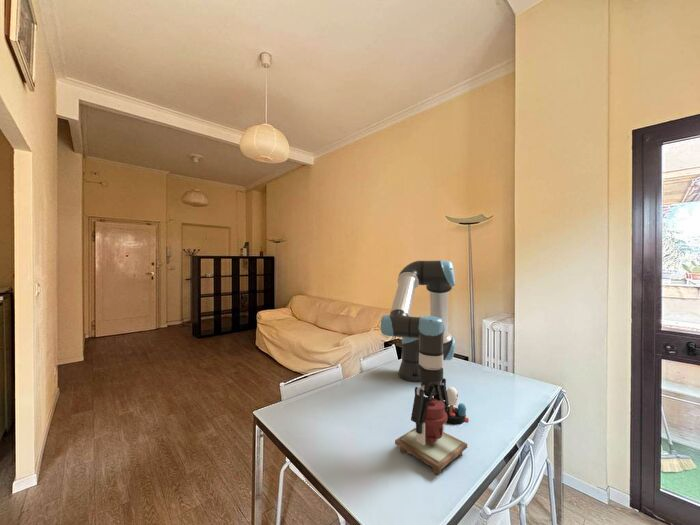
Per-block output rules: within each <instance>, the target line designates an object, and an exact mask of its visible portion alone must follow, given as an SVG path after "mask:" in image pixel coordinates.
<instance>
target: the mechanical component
mask: <svg viewBox="0 0 700 525" xmlns="http://www.w3.org/2000/svg"><path fill="white" fill-rule="evenodd" d="M420 419H421V418H420ZM424 422H425V438H426V439H427V440H428V442H429V443H430V444H434V441H435V440H437V439H440V438H441V437H442V425H443V424H444V425H445V424H447V423H446V422H447V413H446V412H445V405H444V403H443V402H442V401H441V400H438V399H436V398H434V396H433V397H432V399H431V401H429V404H428V408H427V411H426V415H425V418H424Z"/></svg>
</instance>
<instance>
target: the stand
mask: <svg viewBox="0 0 700 525" xmlns="http://www.w3.org/2000/svg"><path fill="white" fill-rule="evenodd" d="M394 444H395V446H398V447H399V451H400V452H401V453H403V454H407V453H409V454H411V455H413V456H414V457H416V458H417V459H418V460H420V461H422V462H424V463H425V464H427V465H428V466H430V467H431V468H432V472H433V474H435V475H440V474H441V473H442V469H444V468H445V467H446V466H447V465H449V464H450V463H451V462H452V461H453V460H454V459H456V458H457V457H462V456H463V452H464V451H465V450H466V449H467V448H468V443H467V442H465V441H463V440H460V439H459V438H457V437H455V436H453V435H450V434H449V433H447V432H445V431H444V432H443V431H442V437H441V438H440V439H437V440H435V441H434V444H430V443H429V442H428V440H427V439H426V438H425V445H423V444H421V443H419V442H417V441H416V427H414V428H413V429H411V430H410V431H408V432H406V433H405V434H403V435H401V436H399V437H398V438H397V439H394Z"/></svg>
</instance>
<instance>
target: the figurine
mask: <svg viewBox="0 0 700 525" xmlns="http://www.w3.org/2000/svg"><path fill="white" fill-rule="evenodd" d="M446 390H447V396H448V402H449V406H446V407H447V408H448V411H445V412H446V413H447V422H446V423H445V424H448V425H452V426H453V425H455V426H456V425H458V426H459V425H463V424H464V423H465V422H469V421H470V420H469V417H467V412H466V411H467V407H466V405H465V404H464V403H461V402H460V403H459V402H458V401H459V394H458V391H457V389H456V388H455V387H453V386H449V387H448V388H446ZM458 403H459V404H458ZM455 406H457V407H455Z"/></svg>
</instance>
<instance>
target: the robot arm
mask: <svg viewBox="0 0 700 525" xmlns="http://www.w3.org/2000/svg"><path fill="white" fill-rule="evenodd" d="M397 284H398V285H397V289H396V291H395V295H394V299H393V301H392V305H391V309H390V312H389V314H384V315H382V317H381V319H380V333H381V334H382V335H383V336H387V337H392V338H394V337H395V338H397V337H398V338H401V362H400V366H399V369H398V377H399V378H401V379H402V380H404V381H407V382H414V383H415V382H416V383H417V382H421V383H420V387H417V386H415V387H414V399H413V404H412V409H411V410H412V412H411V417H410V420H411V422H414V423H415V428H416V441H417V442H419V443H421V444H423V445H425V422H424V418H425V415H426V411H427V408H428V404H429V401H431V399H432V397H433V398H436V399H438V400H441V401H442V402H443V403H444V405H445V411H448V408H447V407H446V406H450V405H449V402H448V396H447V386H446V385H447V380H446V378H444V368H443V367H444V361H451V360H453V359H454V355H455V348H456V346H455V345H456V339H455V337H453V336H452V333H451V332H450V329H449V328H450V327H449V321H450V320H449V319H450V316H449V309H450V308H449V306H450V305H449V295H450V294H449V292H451V291H452V290H453V287H455V286H456V278H455V270H454V265H453V262H452V261H450V260H443V259H442V260H415V261H413V262H410V263H409V264H407V265H406V266H404V267H403V268H402V269H401V271H400V272H399V274H398V277H397ZM418 286H425V287H426V291H428V292H429V307H430V310H429V311H430V313H429V314H430V315H428V316H427V315H426V316H425V315H424V316H411V312H412V306H413V301H414V297H415V291H416V289H417V287H418ZM420 418H421V419H420ZM442 431H443V432H445V424H443V425H442Z"/></svg>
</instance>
